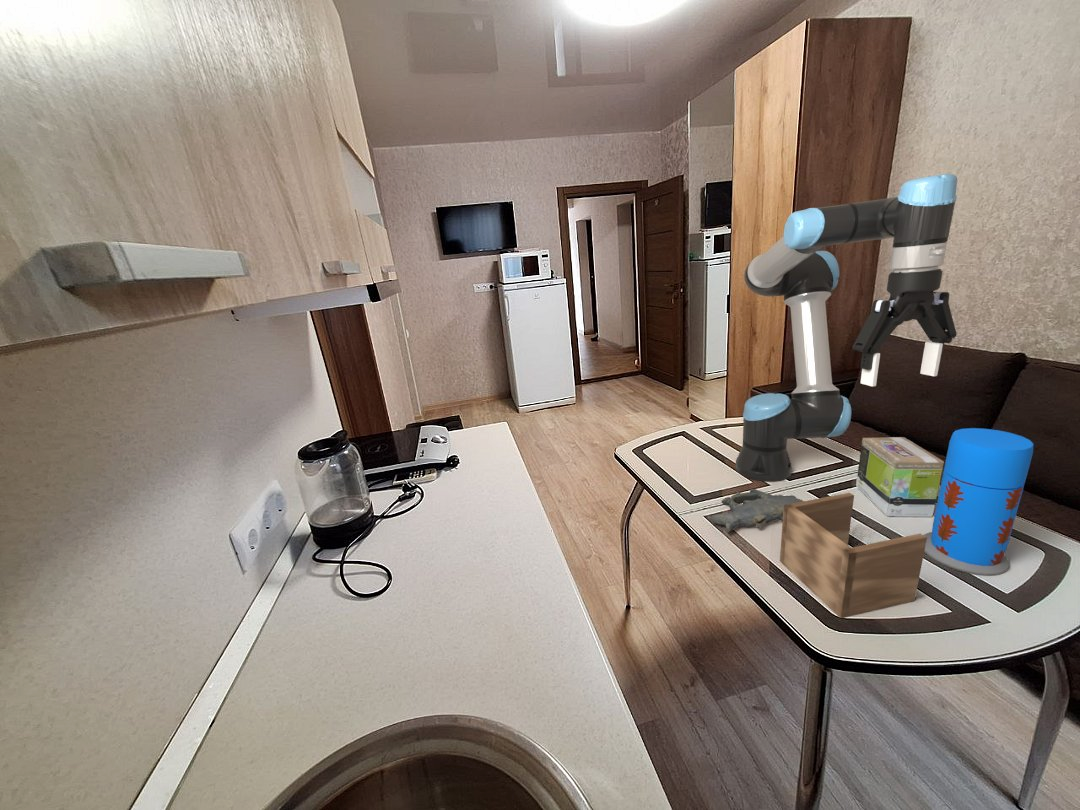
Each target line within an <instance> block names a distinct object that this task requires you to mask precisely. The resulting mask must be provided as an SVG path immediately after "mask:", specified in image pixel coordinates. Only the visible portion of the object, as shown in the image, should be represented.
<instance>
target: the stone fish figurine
mask: <svg viewBox="0 0 1080 810" xmlns="http://www.w3.org/2000/svg"><path fill="white" fill-rule="evenodd" d="M803 501H804V500H803V499H800V498H797V497H796V496H795V495H783V494H774V495H773V494H770V493H766V492H764V491H762V490H758V489H756V488H751V489H750V490H749V492H740V491H737V492H736V493H735V494H733V495H731V497H730V496H729V497H725V498H723V499H722V500H721V503H722V504H723V505H725V506H727V505H729V506H728V507H729V509H730V512H725V513H724V512H723V513H719V514H714V515H712V516H711V517H710V521H711V522H712V523H714V524H718V525H721V526H722V525H723V526H725V531H726V532H727V533H729V532H731V531H733V530H735V529H736V528H738V527H753V526H754V527H755V526H756V527H758V528H761V527H763V526H764V525H765V524H769V523H771V522H775V521H777V520H780V521H781V522H783V509H784V505H788V504H793V503H798V502H803ZM740 503H743V504H740Z"/></svg>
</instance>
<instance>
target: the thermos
mask: <svg viewBox="0 0 1080 810" xmlns="http://www.w3.org/2000/svg"><path fill="white" fill-rule="evenodd" d="M948 442H949V443H948V448H947V453H946V457H945V458H946V459H945V462H944V466H943V471H942V476H941V481H940V486H939V490H938V495H937V500H936V505H935V510H934V511H935V512H934V515H933V517H934V518H933V520H932V528H931V532H932V536H931V541H932V545H933V546H934V547H935V548H936V549H937V550H938V551H940V552H941V553H943V554H945V555H946V556H948V557H951V558H953V559H955V560H958V561H961V562H965V563H968V564H972V565H980V566H994V565H997V564H999V563H1001V561H1002V559H1003V556H1004V555H1005V553H1006V550H1007V548H1008V546H1009V544H1010V543H1009V542H1010V538H1011V535H1012V531H1013V528H1014V524H1015V520H1016V517H1017V513H1018V509H1019V506H1020V502H1021V499H1022V495H1023V491H1024V488H1025V487H1024V486H1025V485H1026V484H1025V483H1026V479H1027V476H1028V472H1029V469H1030V466H1031V461H1032V457H1033V454H1034V443H1033V442H1032V441H1031V439H1028V438H1026V437H1024V436H1023V435H1018V434H1016V433H1012V432H1009V431H1003V430H997V429H989V428H978V427H977V428H976V427H970V428H969V427H968V428H960V429H957V430H954V432H952V435H951V437H950V440H949V441H948Z"/></svg>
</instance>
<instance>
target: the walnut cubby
mask: <svg viewBox="0 0 1080 810" xmlns="http://www.w3.org/2000/svg"><path fill="white" fill-rule="evenodd" d="M854 499H855V495H854V494H853V493H850V492H846V493H841V494H836V495H830V496H825V497H820V498H814V499H809V500H803V502H798V503H793V504H788V505H784V509H783V521H782V525H781V539H780V552H779V554H780V555H779V562H780V563H781V564H782V565H783V566H784V567H785V568H786V569H787V570H788V571H789V572H790V573H792V574H793V575H794V577H796V578H797V579H798V580H799V581H800V582H801V583H802V584H803V585H804V586H806V588H807V589H809V590H810V591H811V592H812V593H813V594H814V595H815V596H816V597H817V598H818V599H820V600H821V601H822V602H823V604H825V605H826V606H827V607H828V608H829V609H830V610H831V611H832V612H833V613H834V614H836V616H837V617H839V618H840V619H845V618H848V617H853V616H855V615H856V616H857V615H861V614H864V613H869V612H873V611H878V610H879V611H880V610H882V609H887V608H893V607H896V606H900V605H905V604H910V603H913V602H915V600H916V596H917V590H918V584H919V580H920V575H921V571H922V565H923V560H924V554H925V552H924V551H925V546H926V541H927V537H926V536H924V534H922V533H916V534H911V535H910V534H909V535H908V536H907V535H905V536H900V537H897V538H890V539H886V540H881V541H878V542H873V543H868V544H863V545H859V546H853V547H851V546H849V539H850V531H851V524H852V523H851V521H852V514H853V507H854V506H853V505H854Z"/></svg>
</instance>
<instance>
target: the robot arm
mask: <svg viewBox="0 0 1080 810" xmlns="http://www.w3.org/2000/svg"><path fill="white" fill-rule="evenodd" d="M957 185H958V177H957V175H956V174H953V173H946V174H945V173H943V174H938V175H937V174H936V175H931V176H924V177H919V178H914V179H911V180H908V181H906V182H904V183H903V184H902V185H901V187H900V190H899V192H898V193H899V194H898V196H895V197H894V196H893V197H888V198H883V199H882V198H880V199H875V200H874V199H873V200H868V201H860V202H859V201H858V202H853V203H846V204H838V205H829V206H820V207H809V208H806V209H803V210H797V211H794V212H792V213H791V214H790V215H789V216H788V218H787V219H786V222H785V225H784V227H783V228H784V230H783V236H782V237H781V238H780V239H778V240H777V241H776V242H775V243H774V244H773V245H772V246H771V247H770V248H769V249H768V250H767V251H766V252H765V253H762V254H759V255H757V256H755V257H754V258H753V259H752V260H751V261H750V262H749V263H748V264H747V265H746V268H745V270H744V274H743V275H744V277H743V279H744V282H745V286H746V287H747V288H748V289H749V290H750V291H751V292H753V293H754V294H756V295H759V296H761V297H762V296H763V297H771V298H772V297H783V303H784V304H785V305H787V306H788V307H789V308H790V317H791V328H792V330H791V331H792V342H793V355H794V367H795V379H796V388H794V390H793V391H792V392H791V398H790V397H789V396H788V395H786V394H783V393H778V392H776V393H775V392H768V393H761V394H758V395H755V396H751V397H750V398H748V399H747V400H746V401H745V403H744V408H743V413H742V418H743V425H742V426H743V427H742V445H741V448H740V450H739V452H738V456H737V458H736V459H735V469H736V471H737V473H739V474H740V475H741V476H743V477H745V478H748V479H751V480H755V481H759V482H779V481H784V480H787V479H788V478H791V476H792V470H793V467H792V465H793V464H792V462H791V459H790V455H789V453H788V450H787V442H788V440H795V439H818V438H819V439H820V438H821V439H826V438H835V437H839V436H841V435H844V433H845V432H846V431H847V429H848V428H849V426H850V424H851V419H852V407H851V403H850V401H849V398H847V397H845V396H843V395H841V394H840V388H838V387H836V386H835V385H834V384H833V377H832V367H831V366H832V365H831V356H830V355H831V353H830V343H829V342H830V341H829V331H828V320H827V319H828V318H827V308H826V307H827V306H826V302H827V300H828V299H829V298H830V297H831V296H832V291H833V290H834V289H836V288H837V285H838V283H839V278H840V266H839V263H838V261H837V260H838V259H836V257H835V256H834V255H833V254H832V253H831V252H829V251H827V250H820V249H822V248H824V247H826V246H835V245H842V244H848V243H850V244H851V243H857V242H858V243H859V242H866V241H867V242H868V241H876V240H885V239H892V238H893V242H892V248H891V255H890V262H889V269H890V270H892V271H891V272H890V273H889V274H888V277H887V286H886V291H887V292H888V293H889V294H890V295H889V298H888V300H887V299H886V300H882V299H875V300H874V301H873V303H872V306H871V310H870V312H869V315H868V317H867V318H866V321H865V323H864V324H863V327H862V328H861V330H860V331H859V333H858V336H857V338H856V339H855V341H854V343H853V345H852V350H853V351H857V352H860V353H861V359H860V369H861V375H860V384H862V385H866V386H869V387H872V388H873V387H877V382H878V380H877V379H878V375H879V374H878V373H879V365H880V359H881V353H880V352H878V350H879V349H880V348H881V347H882V346H883V344H885V342H886V340H888V338H889V337H890V336H891V334H892V333H893V332H894V331H895V330H896V329H897V327H898V326H900V325H902V324H904V323H905V322H911V321H912V320H913V321H914V320H915V321H917V323H918V324H919V326H920V328H922V329H921V330H923V332H924V334H925V335H926V336H927V338H928V340H929V341H925V343H924V348H923V354H922V359H921V360H922V361H921V367H920V372H919V374H921V375H925V376H931V377H937V376H938V373H939V368H940V362H941V358H942V357H943V353H944V347H945V344H951V343H952V342H953V339H955V338H956V337H957V335H958V334H957V330H956V327H955V324H954V323H955V322H954V319H953V314H952V310H951V308H950V303H949V302H950V301H949V300H950V292H947V291H938V290H939V289H940V287H941V284H942V283H941V282H942V277H943V270H942V269H941V268H939V267H942V266H943V265H944V264H945V258H946V250H947V245H948V240H949V236H950V230H951V225H952V221H953V215H954V210H955V204H956V201H957V198H958V197H957V195H956V194H957Z"/></svg>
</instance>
